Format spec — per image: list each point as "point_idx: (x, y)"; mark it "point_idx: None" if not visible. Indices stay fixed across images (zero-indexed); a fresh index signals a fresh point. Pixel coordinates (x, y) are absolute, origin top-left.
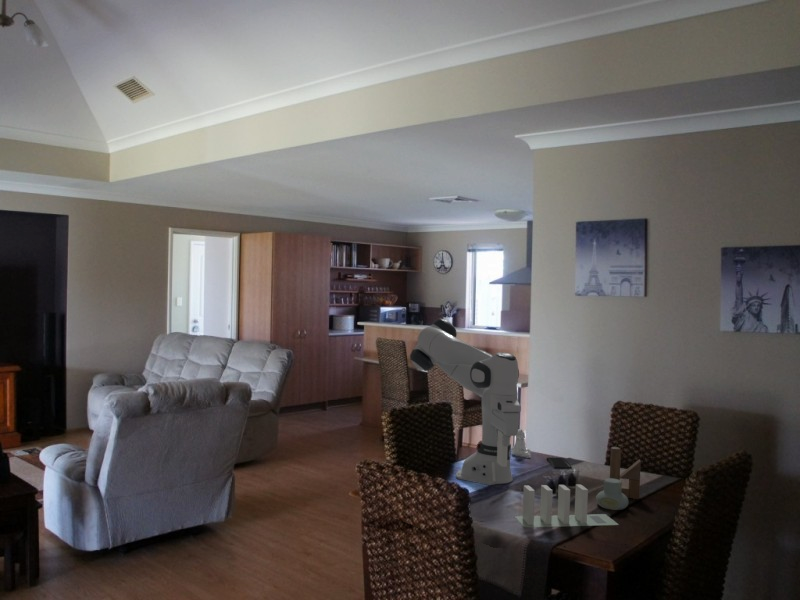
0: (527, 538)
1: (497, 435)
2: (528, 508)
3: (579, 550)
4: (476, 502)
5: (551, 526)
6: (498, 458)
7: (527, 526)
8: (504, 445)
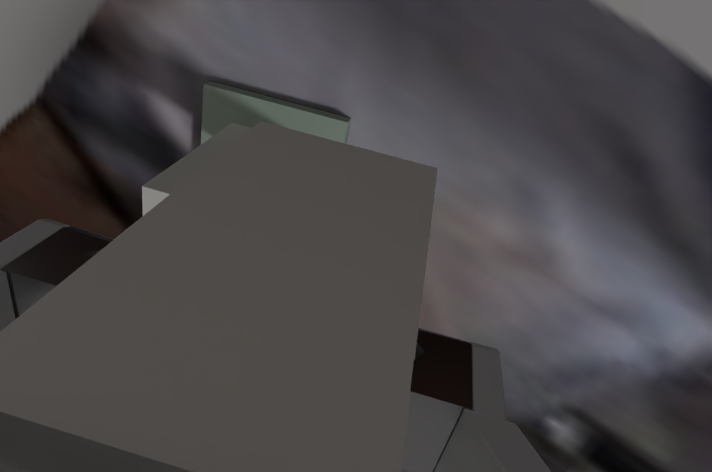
0: (121, 40)
1: (445, 406)
2: (201, 148)
3: (11, 167)
4: (680, 56)
5: None
6: (375, 174)
7: (212, 105)
8: (45, 228)
